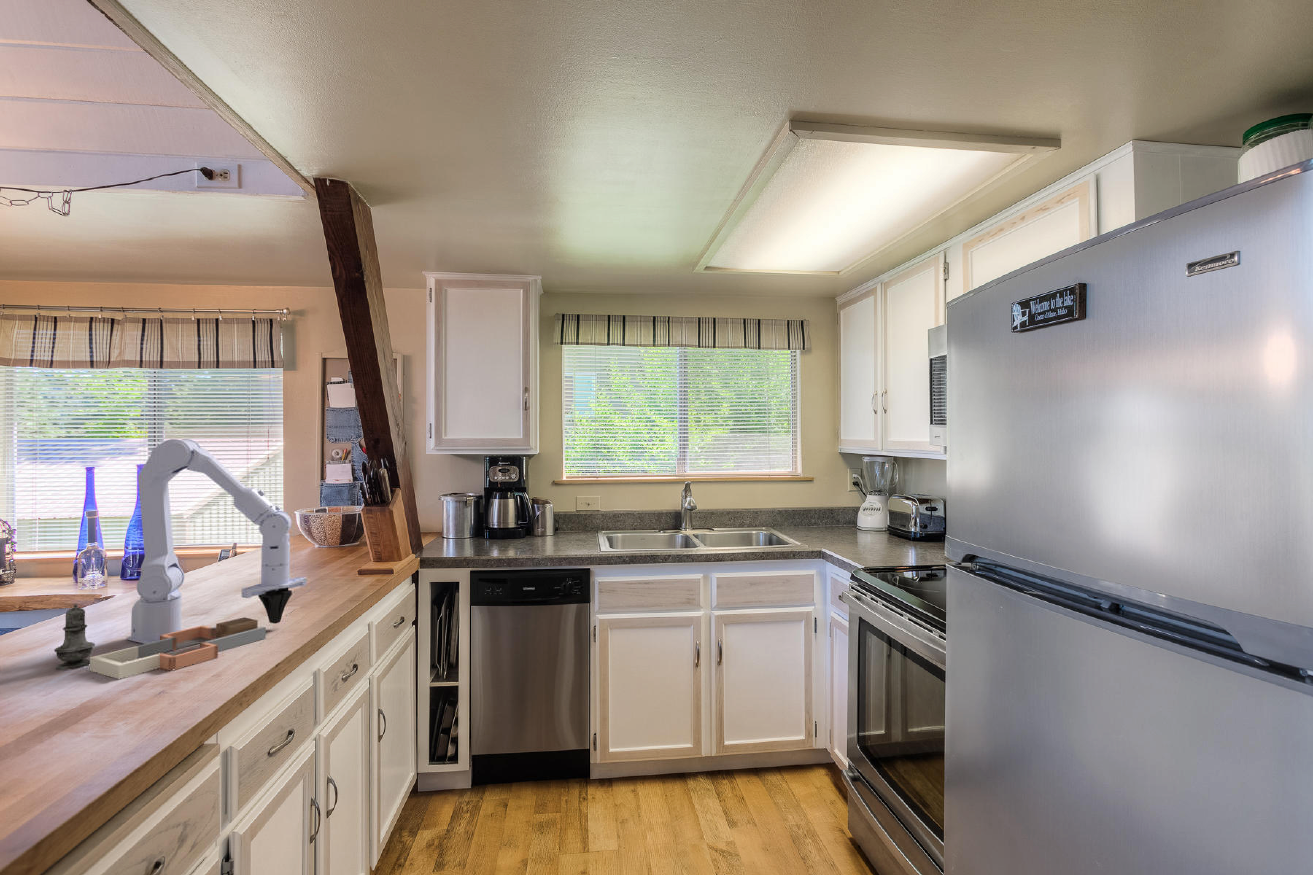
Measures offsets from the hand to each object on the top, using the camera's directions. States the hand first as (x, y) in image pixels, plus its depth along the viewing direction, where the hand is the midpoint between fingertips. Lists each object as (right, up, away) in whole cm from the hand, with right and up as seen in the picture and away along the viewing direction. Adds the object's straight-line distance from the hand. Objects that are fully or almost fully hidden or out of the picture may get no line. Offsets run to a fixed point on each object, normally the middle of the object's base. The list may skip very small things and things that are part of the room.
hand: (274, 622), depth 151 cm
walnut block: (-4, -2, -8) cm, 9 cm away
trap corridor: (-8, -1, -18) cm, 20 cm away
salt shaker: (-24, -1, -25) cm, 35 cm away
